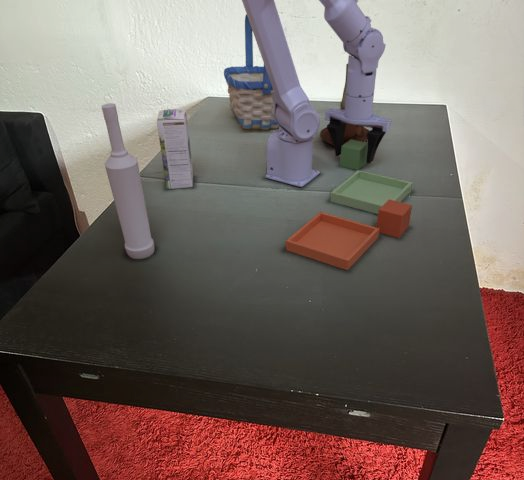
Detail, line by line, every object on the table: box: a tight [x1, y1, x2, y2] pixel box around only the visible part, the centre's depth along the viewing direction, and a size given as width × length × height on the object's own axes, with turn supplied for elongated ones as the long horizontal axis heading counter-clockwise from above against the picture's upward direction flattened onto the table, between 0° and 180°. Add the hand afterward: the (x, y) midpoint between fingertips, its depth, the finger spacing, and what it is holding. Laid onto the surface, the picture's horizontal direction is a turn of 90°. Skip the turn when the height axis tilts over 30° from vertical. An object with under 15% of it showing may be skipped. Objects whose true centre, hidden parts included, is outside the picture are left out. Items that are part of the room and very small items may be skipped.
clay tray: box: [285, 211, 380, 271], centre depth 93 cm, size 12×12×2 cm
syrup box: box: [156, 108, 194, 190], centre depth 109 cm, size 6×6×14 cm
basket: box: [223, 13, 279, 131], centre depth 132 cm, size 21×16×24 cm
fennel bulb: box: [340, 63, 348, 110], centre depth 138 cm, size 6×5×12 cm
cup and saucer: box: [319, 123, 370, 146], centre depth 126 cm, size 12×12×6 cm
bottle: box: [101, 102, 156, 260], centre depth 86 cm, size 5×5×25 cm
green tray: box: [329, 169, 413, 215], centre depth 106 cm, size 12×12×2 cm
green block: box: [339, 139, 368, 171], centre depth 117 cm, size 4×4×4 cm
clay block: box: [375, 199, 413, 239], centre depth 95 cm, size 4×4×4 cm
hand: (354, 158), depth 117 cm, fingers open, 7 cm apart
